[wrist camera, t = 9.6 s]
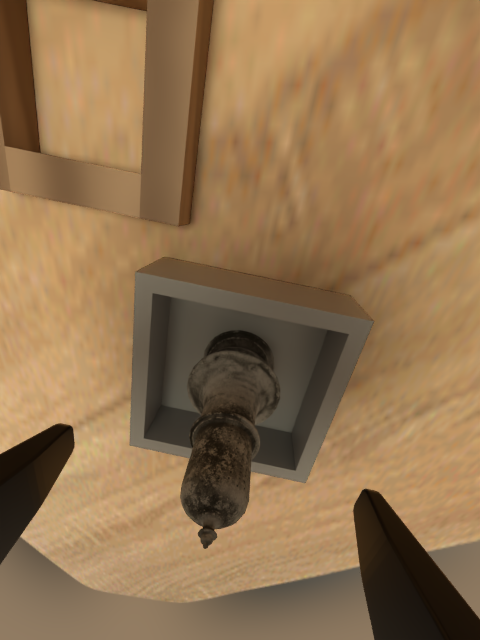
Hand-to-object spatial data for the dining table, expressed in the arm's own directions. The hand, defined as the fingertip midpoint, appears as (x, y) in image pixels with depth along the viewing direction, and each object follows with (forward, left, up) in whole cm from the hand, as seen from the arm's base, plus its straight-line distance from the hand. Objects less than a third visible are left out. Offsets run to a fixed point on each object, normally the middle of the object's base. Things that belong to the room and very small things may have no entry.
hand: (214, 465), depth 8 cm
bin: (0, +4, -13) cm, 13 cm away
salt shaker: (0, +4, -12) cm, 12 cm away
